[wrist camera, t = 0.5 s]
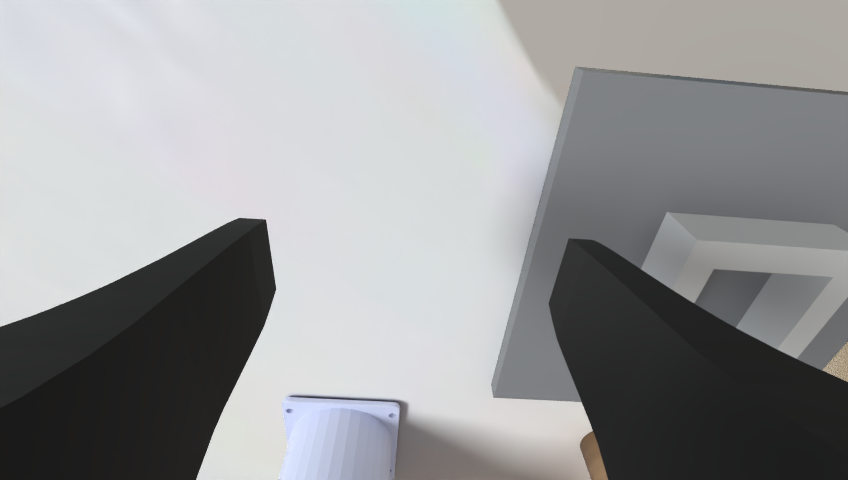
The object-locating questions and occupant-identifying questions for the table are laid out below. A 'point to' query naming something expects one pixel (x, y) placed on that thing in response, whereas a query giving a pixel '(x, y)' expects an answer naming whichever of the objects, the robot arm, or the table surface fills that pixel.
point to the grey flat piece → (693, 212)
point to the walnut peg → (593, 457)
